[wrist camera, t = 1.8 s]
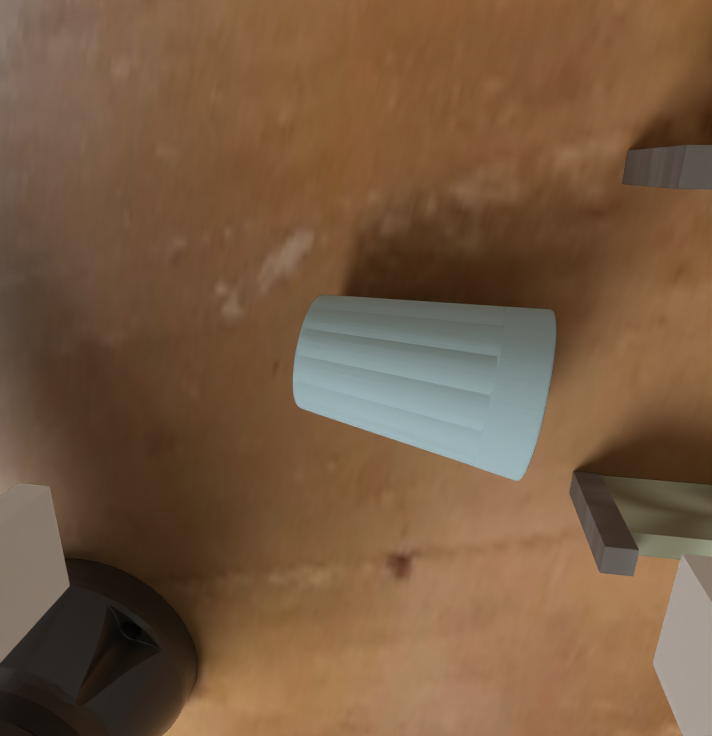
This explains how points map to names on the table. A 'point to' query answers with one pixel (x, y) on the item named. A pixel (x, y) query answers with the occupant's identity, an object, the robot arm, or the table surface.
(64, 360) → the table surface
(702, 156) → the bay
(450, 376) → the cup
